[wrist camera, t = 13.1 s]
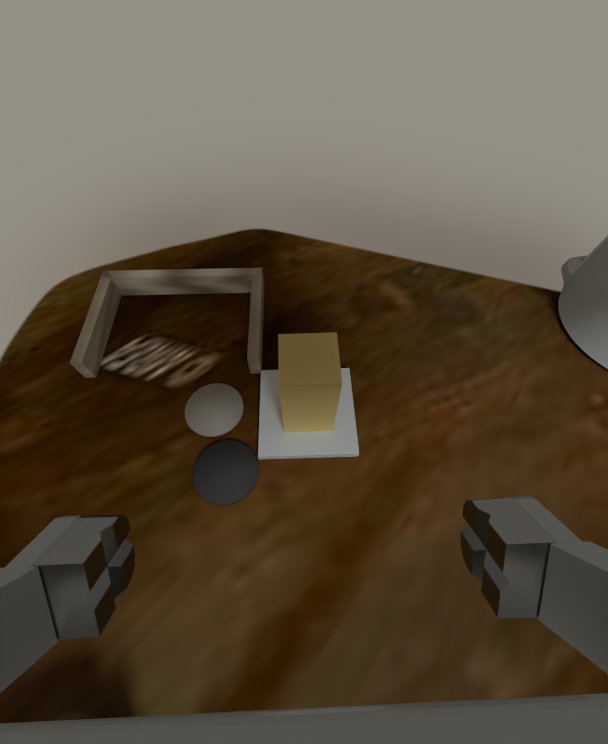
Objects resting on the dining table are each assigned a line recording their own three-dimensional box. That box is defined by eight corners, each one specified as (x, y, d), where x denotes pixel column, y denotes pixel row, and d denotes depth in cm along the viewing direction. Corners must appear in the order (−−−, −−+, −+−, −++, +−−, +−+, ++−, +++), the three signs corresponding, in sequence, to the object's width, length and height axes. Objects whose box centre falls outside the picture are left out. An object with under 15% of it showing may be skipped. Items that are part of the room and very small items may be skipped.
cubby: (264, 285, 39) (262, 267, 36) (261, 373, 33) (258, 358, 31) (114, 288, 38) (103, 270, 36) (85, 377, 33) (69, 363, 30)
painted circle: (234, 377, 33) (234, 375, 32) (251, 424, 30) (250, 423, 30) (179, 395, 32) (179, 394, 32) (192, 445, 29) (191, 444, 29)
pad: (348, 371, 33) (349, 368, 32) (358, 456, 29) (359, 454, 28) (261, 373, 33) (261, 370, 32) (258, 459, 29) (258, 457, 28)
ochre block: (329, 388, 31) (336, 332, 25) (332, 430, 29) (342, 383, 22) (283, 389, 31) (278, 334, 24) (284, 432, 29) (278, 385, 22)
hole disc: (247, 432, 30) (247, 431, 30) (266, 489, 27) (266, 488, 27) (188, 454, 29) (187, 453, 29) (202, 515, 27) (201, 514, 26)
